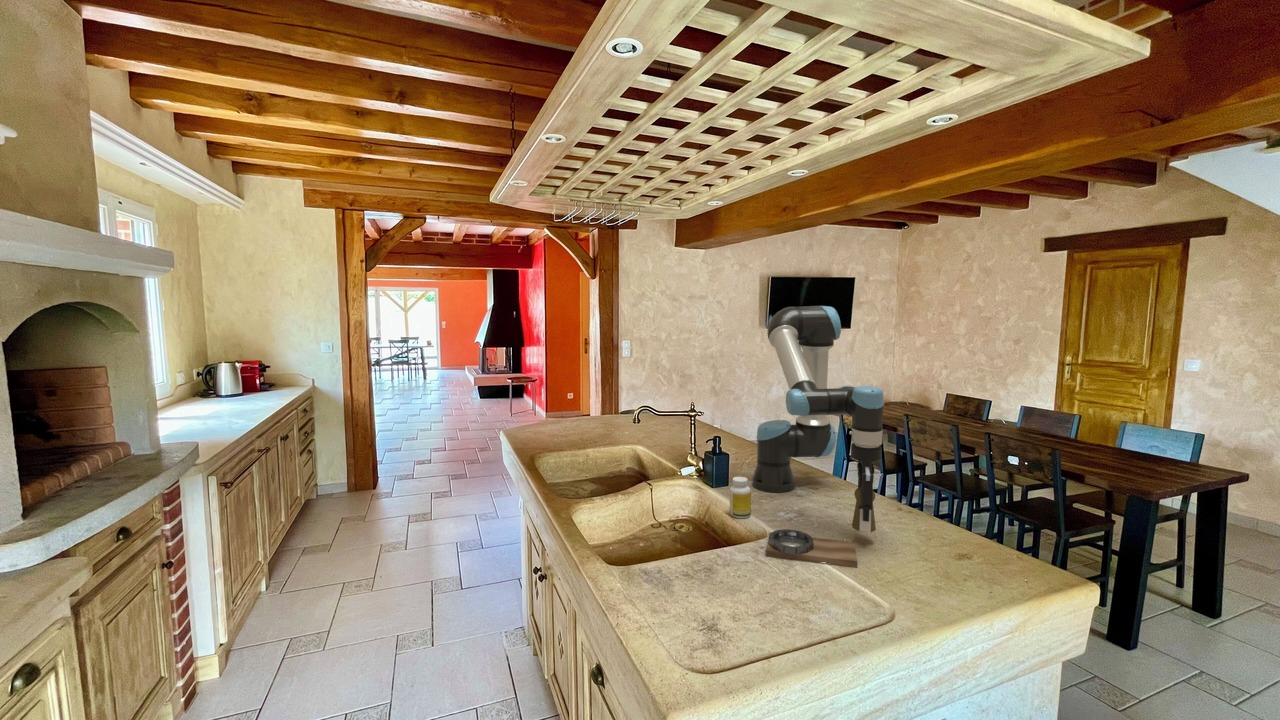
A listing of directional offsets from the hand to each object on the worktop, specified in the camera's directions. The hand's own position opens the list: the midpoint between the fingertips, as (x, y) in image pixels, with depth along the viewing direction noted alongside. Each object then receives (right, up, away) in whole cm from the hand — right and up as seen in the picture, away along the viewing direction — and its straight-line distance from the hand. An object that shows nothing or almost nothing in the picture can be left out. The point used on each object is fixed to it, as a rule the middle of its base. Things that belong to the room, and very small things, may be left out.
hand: (863, 525), depth 142 cm
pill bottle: (-30, -3, +20) cm, 36 cm away
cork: (0, -1, 0) cm, 1 cm away
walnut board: (-16, -5, -5) cm, 18 cm away
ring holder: (-21, -4, -4) cm, 22 cm away
